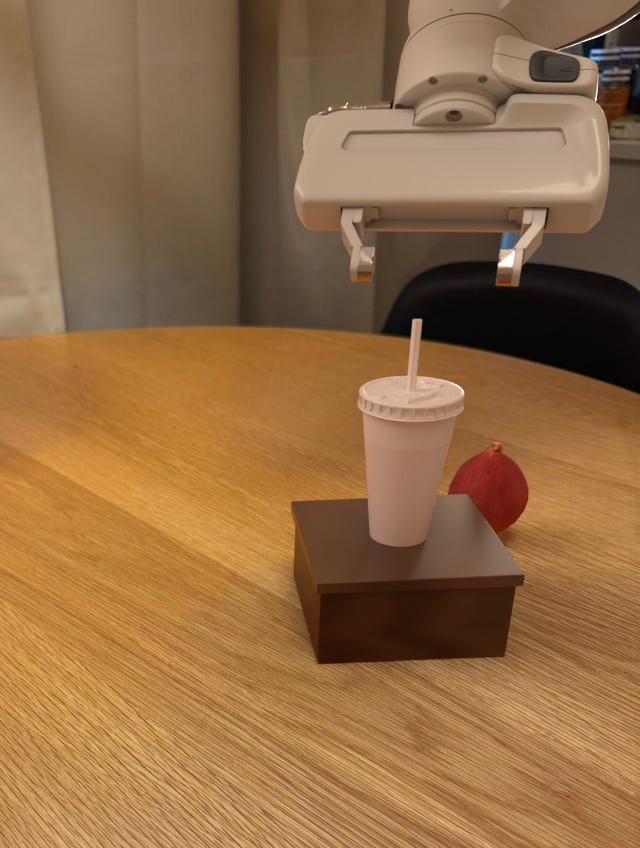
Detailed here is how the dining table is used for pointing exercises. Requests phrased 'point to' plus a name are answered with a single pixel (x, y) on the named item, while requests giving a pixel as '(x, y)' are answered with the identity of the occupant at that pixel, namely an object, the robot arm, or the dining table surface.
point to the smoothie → (406, 448)
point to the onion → (493, 486)
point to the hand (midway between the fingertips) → (432, 279)
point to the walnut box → (402, 584)
